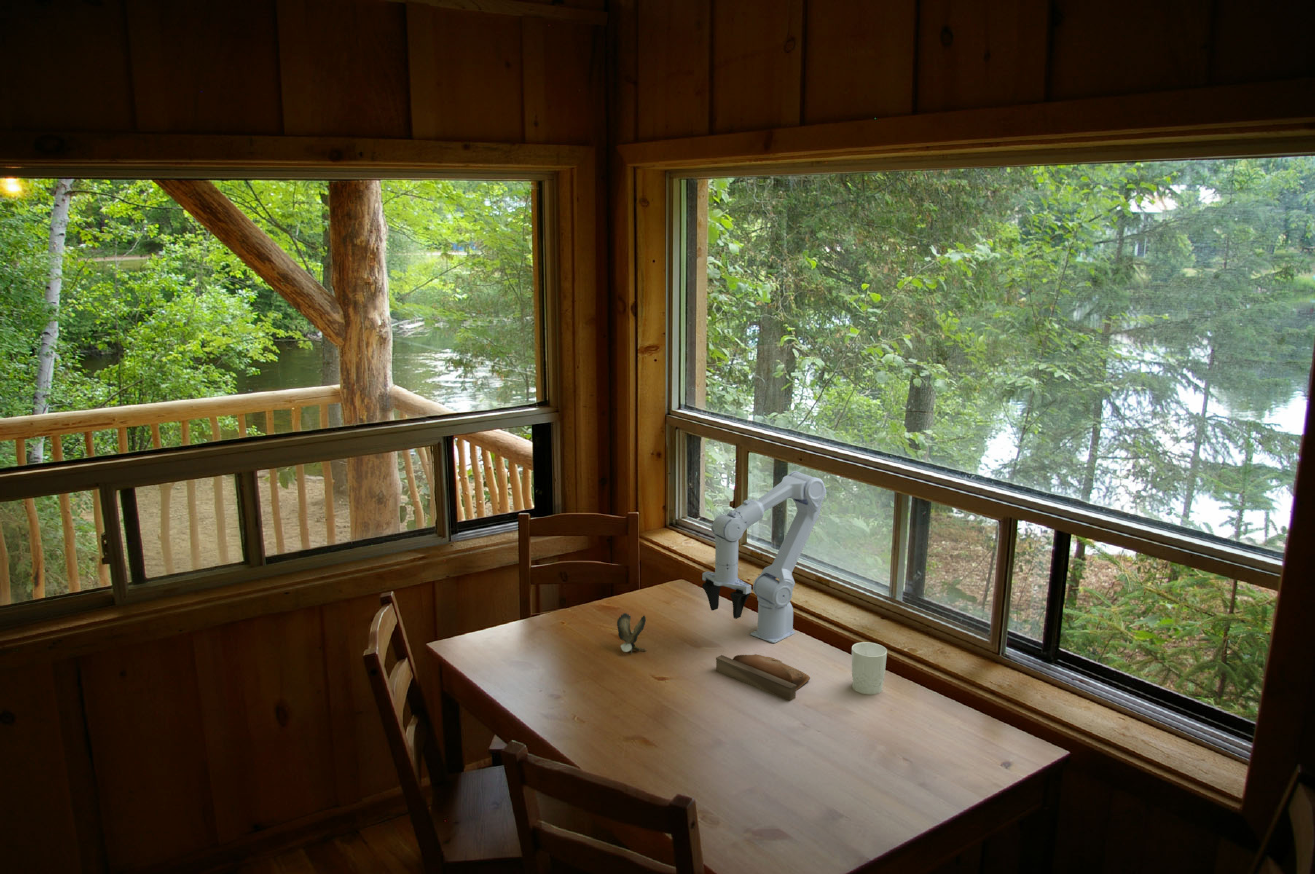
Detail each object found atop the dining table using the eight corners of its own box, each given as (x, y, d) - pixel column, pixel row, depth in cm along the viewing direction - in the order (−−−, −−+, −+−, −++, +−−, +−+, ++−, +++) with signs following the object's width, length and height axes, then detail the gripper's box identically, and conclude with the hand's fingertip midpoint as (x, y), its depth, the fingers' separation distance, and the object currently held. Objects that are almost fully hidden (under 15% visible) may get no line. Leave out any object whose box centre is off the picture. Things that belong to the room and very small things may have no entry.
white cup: (845, 692, 204) (847, 652, 202) (855, 679, 211) (856, 639, 209) (880, 700, 200) (882, 659, 198) (888, 686, 207) (890, 646, 205)
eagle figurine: (647, 644, 229) (647, 611, 228) (646, 656, 222) (646, 622, 221) (617, 644, 230) (617, 611, 228) (615, 655, 223) (615, 622, 221)
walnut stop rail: (721, 667, 216) (721, 654, 215) (796, 698, 201) (796, 684, 200) (715, 670, 215) (715, 657, 214) (790, 702, 199) (790, 688, 199)
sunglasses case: (812, 675, 209) (803, 660, 205) (799, 701, 205) (789, 686, 202) (751, 653, 221) (741, 638, 217) (737, 677, 218) (727, 662, 214)
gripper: (694, 559, 225) (694, 609, 228) (738, 573, 215) (737, 625, 218) (713, 553, 230) (712, 602, 233) (757, 566, 220) (755, 617, 223)
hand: (725, 613), depth 226 cm, fingers open, 7 cm apart
